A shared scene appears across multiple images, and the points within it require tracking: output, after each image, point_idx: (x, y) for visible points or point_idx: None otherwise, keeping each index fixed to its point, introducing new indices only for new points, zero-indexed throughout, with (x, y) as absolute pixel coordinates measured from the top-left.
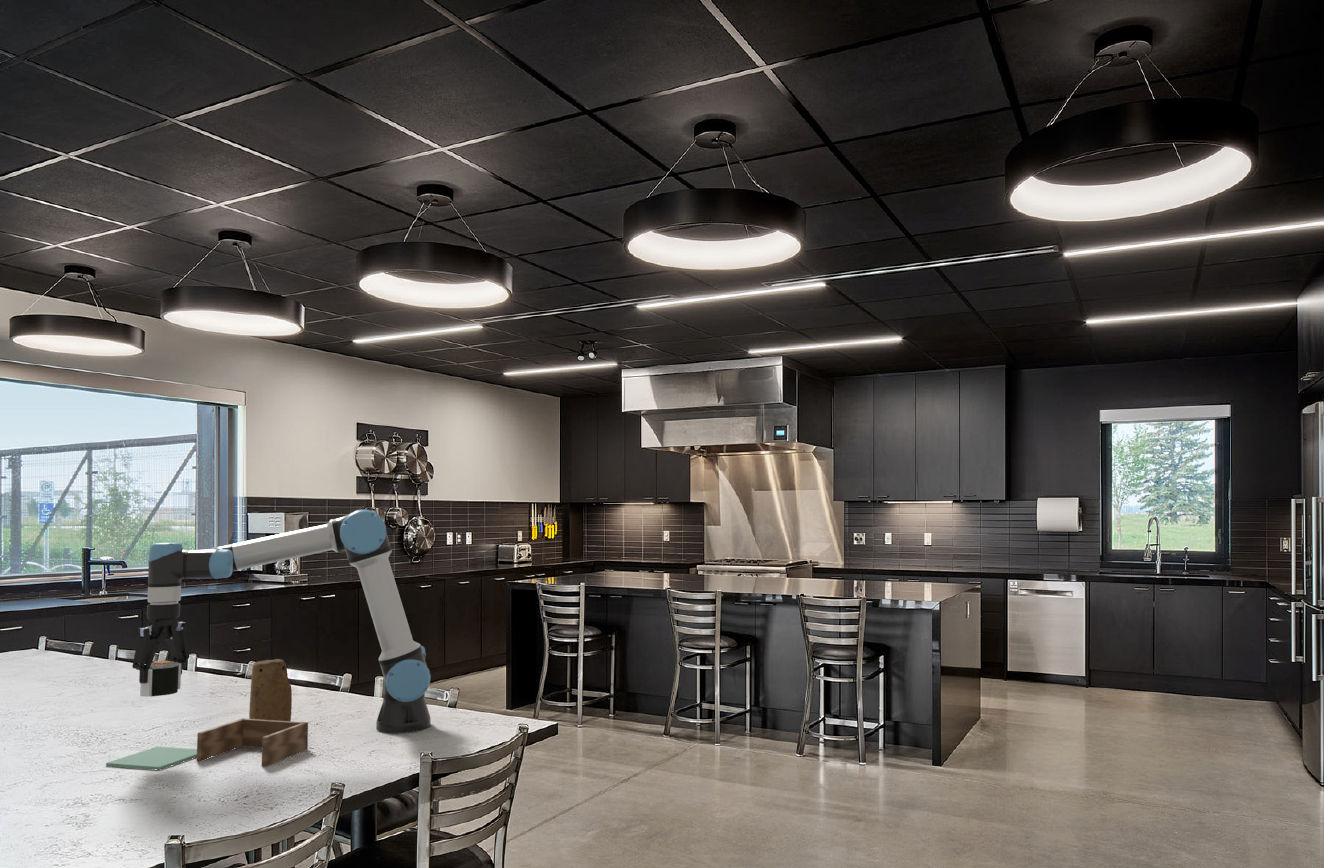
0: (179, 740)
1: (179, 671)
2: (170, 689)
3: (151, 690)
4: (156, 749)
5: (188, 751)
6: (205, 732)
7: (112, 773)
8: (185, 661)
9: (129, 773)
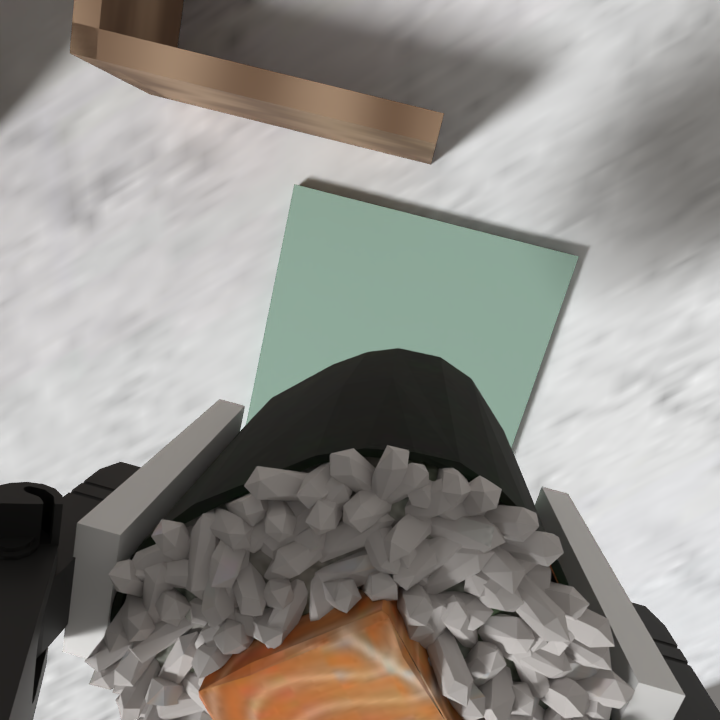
0: (103, 424)
1: (163, 475)
2: (459, 379)
3: (558, 512)
4: None
5: (317, 266)
6: (411, 106)
7: (593, 428)
8: (17, 490)
9: (601, 361)
